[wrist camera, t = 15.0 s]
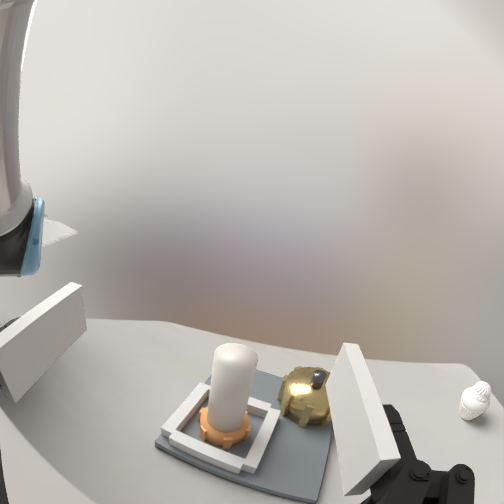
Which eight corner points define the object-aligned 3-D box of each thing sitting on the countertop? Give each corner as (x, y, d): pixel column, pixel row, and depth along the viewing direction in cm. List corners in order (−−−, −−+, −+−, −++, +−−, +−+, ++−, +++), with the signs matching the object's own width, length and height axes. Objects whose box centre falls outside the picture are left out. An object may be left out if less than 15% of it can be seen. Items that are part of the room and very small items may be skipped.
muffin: (469, 431, 26) (493, 399, 24) (446, 412, 31) (467, 380, 29) (482, 416, 28) (503, 385, 27) (461, 399, 34) (480, 368, 32)
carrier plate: (155, 446, 24) (153, 434, 23) (223, 363, 41) (225, 350, 41) (313, 503, 19) (321, 495, 18) (335, 397, 36) (341, 385, 36)
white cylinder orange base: (188, 434, 26) (192, 359, 23) (210, 405, 31) (219, 331, 28) (238, 455, 24) (257, 384, 21) (255, 422, 29) (275, 350, 26)
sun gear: (268, 417, 30) (279, 384, 29) (284, 379, 38) (294, 347, 36) (332, 434, 28) (350, 403, 26) (339, 394, 36) (353, 363, 34)
